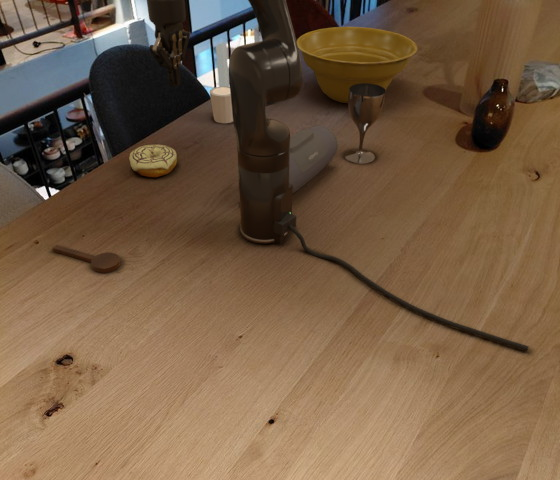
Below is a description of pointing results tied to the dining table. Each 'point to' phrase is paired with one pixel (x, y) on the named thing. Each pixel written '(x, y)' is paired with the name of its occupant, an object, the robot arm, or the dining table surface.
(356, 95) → the wine glass
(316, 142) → the bluetooth speaker
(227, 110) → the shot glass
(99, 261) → the spoon
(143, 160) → the decorated donut
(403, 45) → the planter bowl
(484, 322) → the dining table surface
